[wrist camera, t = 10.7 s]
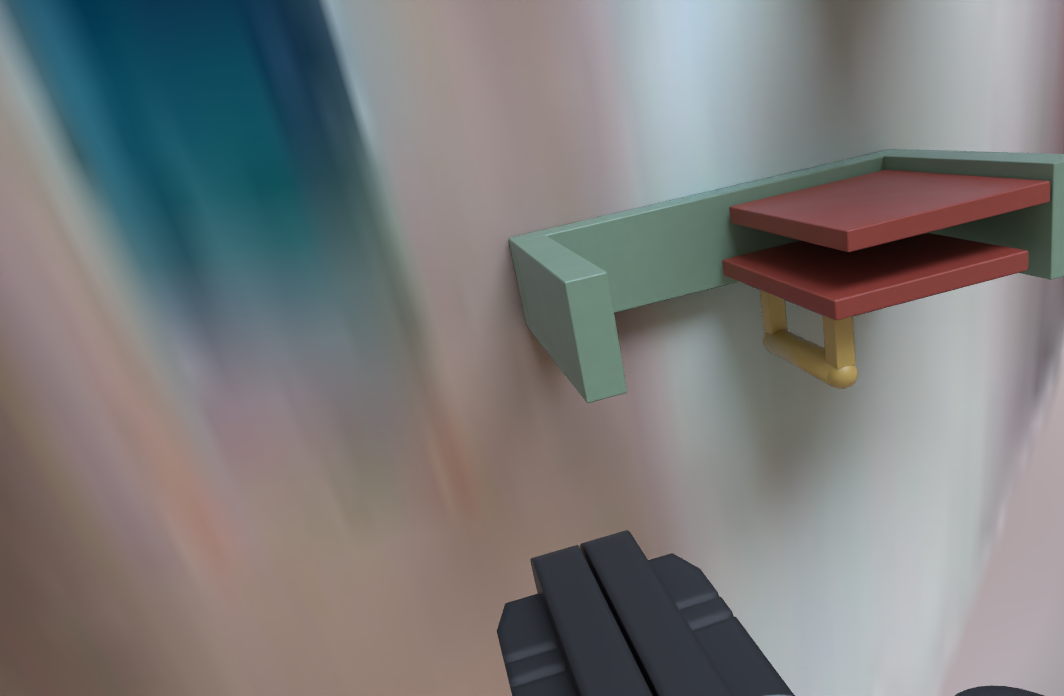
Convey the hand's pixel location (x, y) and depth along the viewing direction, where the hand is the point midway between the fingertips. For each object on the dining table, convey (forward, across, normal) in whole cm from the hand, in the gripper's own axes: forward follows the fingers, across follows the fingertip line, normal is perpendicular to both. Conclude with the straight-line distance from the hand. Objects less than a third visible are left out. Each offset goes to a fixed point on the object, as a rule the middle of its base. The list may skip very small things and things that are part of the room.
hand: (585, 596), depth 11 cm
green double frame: (+25, -13, +1) cm, 28 cm away
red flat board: (+23, -17, +4) cm, 29 cm away
